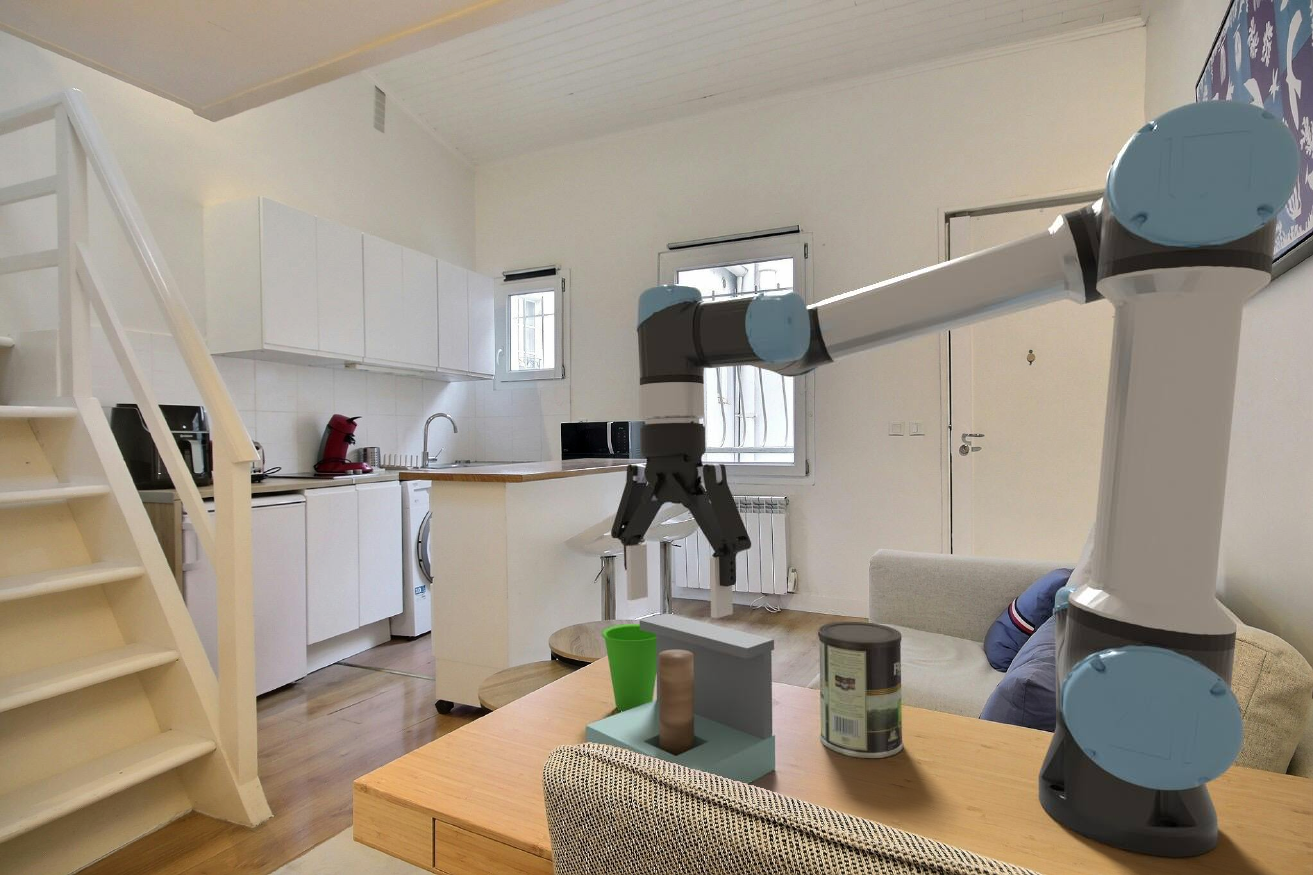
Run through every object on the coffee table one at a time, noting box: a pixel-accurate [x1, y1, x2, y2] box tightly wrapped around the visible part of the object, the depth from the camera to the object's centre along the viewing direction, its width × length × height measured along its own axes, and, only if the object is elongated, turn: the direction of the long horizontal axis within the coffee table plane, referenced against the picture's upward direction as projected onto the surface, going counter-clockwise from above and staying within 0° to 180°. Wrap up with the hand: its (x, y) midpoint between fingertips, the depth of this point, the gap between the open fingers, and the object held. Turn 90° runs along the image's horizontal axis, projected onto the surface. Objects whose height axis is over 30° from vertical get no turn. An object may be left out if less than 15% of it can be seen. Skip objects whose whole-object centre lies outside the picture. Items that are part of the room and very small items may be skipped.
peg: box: [659, 650, 694, 756], centre depth 80 cm, size 4×4×14 cm
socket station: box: [585, 613, 776, 785], centre depth 83 cm, size 18×14×15 cm
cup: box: [601, 623, 657, 712], centre depth 101 cm, size 9×9×11 cm
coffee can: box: [817, 621, 904, 759], centre depth 89 cm, size 10×10×14 cm
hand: (677, 606), depth 80 cm, fingers open, 13 cm apart
